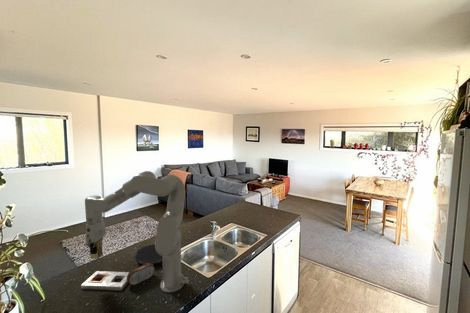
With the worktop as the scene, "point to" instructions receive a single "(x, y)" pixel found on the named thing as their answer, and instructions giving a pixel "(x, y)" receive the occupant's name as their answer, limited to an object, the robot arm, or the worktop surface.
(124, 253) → the worktop surface
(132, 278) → the tin
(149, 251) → the bowl
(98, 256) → the brass peg
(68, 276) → the worktop surface
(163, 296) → the worktop surface
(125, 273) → the rail plate
